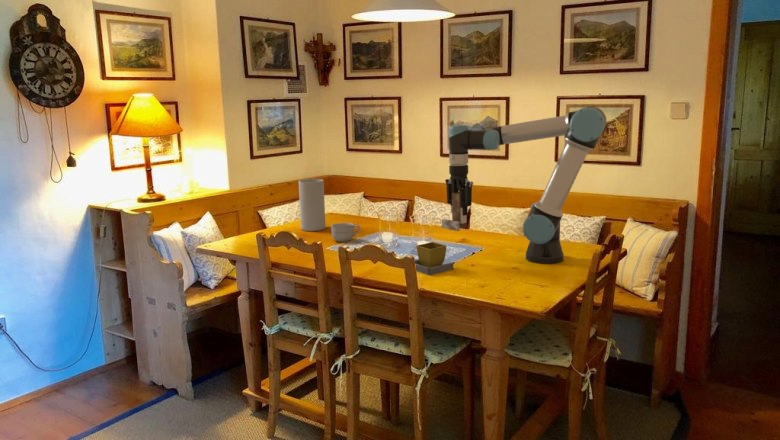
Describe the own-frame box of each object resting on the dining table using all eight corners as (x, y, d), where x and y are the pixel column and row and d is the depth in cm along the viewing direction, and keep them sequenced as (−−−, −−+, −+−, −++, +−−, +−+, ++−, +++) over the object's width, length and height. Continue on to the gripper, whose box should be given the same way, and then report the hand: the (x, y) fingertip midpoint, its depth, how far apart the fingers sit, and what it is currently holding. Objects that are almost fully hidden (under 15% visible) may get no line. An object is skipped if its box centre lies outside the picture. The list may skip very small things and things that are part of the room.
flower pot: (430, 271, 249) (430, 249, 247) (416, 267, 256) (415, 245, 254) (447, 267, 254) (447, 245, 252) (432, 263, 261) (432, 241, 259)
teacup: (327, 242, 300) (326, 225, 298) (338, 237, 310) (337, 221, 308) (354, 244, 295) (354, 227, 293) (364, 239, 305) (363, 222, 303)
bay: (453, 269, 251) (453, 263, 251) (429, 275, 244) (429, 269, 243) (429, 262, 262) (429, 256, 262) (406, 267, 255) (406, 261, 254)
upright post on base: (471, 228, 257) (470, 193, 254) (457, 231, 253) (456, 196, 250) (455, 224, 264) (454, 191, 261) (441, 227, 260) (441, 193, 257)
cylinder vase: (324, 231, 323) (321, 182, 318) (299, 231, 323) (296, 182, 318) (326, 226, 335) (324, 178, 330) (303, 226, 335) (300, 179, 330)
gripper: (437, 163, 259) (438, 220, 263) (467, 167, 245) (467, 226, 250) (450, 162, 263) (451, 217, 268) (481, 165, 250) (481, 223, 255)
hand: (459, 222), depth 259 cm, fingers closed on upright post on base, 4 cm apart
